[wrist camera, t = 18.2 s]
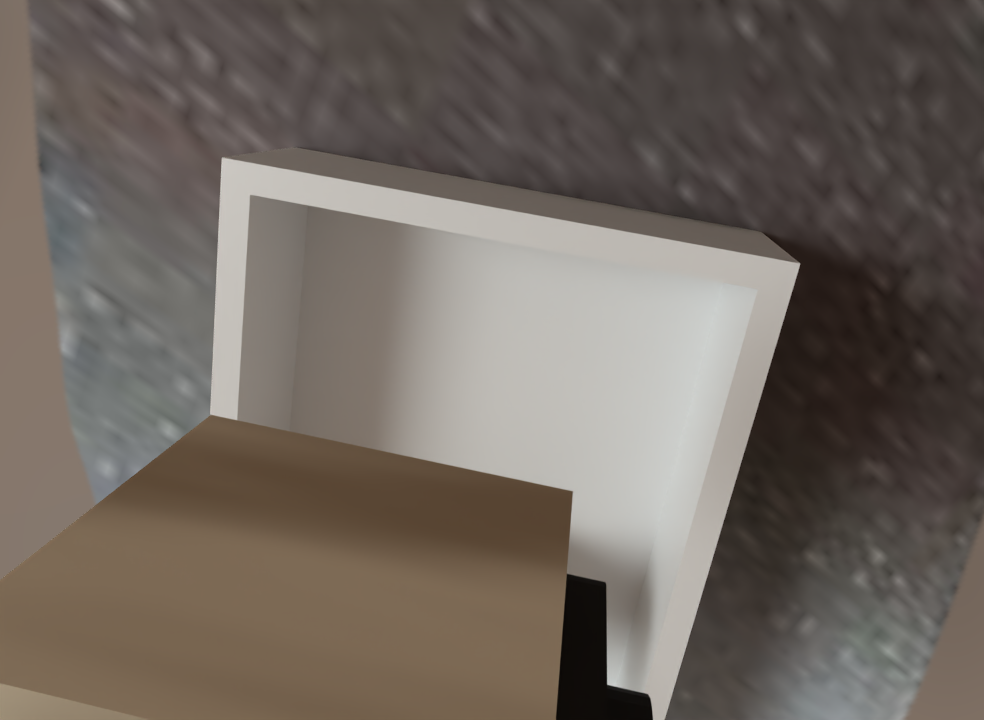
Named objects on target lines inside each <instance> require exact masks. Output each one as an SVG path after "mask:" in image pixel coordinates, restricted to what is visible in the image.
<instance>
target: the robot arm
mask: <svg viewBox="0 0 984 720" xmlns="http://www.w3.org/2000/svg"><path fill="white" fill-rule="evenodd" d="M556 720H653V714H652V705H651V698H650V697H649V695H648V694H646V693H641V692H637V691H632V690H628V689H624V688H619V687H615V686H611V685H607V599H606V582H603V581H599V580H594V579H589V578H585V577H580V576H576V575H571V574H567V577H566V591H565V604H564V617H563V631H562V644H561V657H560V671H559V684H558V697H557V710H556Z"/></svg>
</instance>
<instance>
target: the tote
mask: <svg viewBox="0 0 984 720" xmlns="http://www.w3.org/2000/svg"><path fill="white" fill-rule="evenodd" d="M799 267H800V263H799V262H798V261H797V260H795V259H794V258H793V257H792V256H790V255H789V254H788V253H787V252H785V251H784V250H783V249H782V248H780V247H779V246H778V245H777V244H776V243H774V242H773V241H772V240H771V239H769V238H768V237H767V236H766V235H764V234H763V233H762V232H760V231H755V230H749V229H744V228H738V227H733V226H727V225H722V224H716V223H711V222H705V221H700V220H694V219H689V218H683V217H678V216H672V215H667V214H661V213H656V212H650V211H644V210H639V209H633V208H628V207H622V206H617V205H611V204H606V203H600V202H595V201H589V200H584V199H578V198H573V197H567V196H562V195H556V194H551V193H545V192H540V191H534V190H528V189H523V188H517V187H512V186H506V185H501V184H495V183H490V182H484V181H479V180H473V179H468V178H462V177H457V176H451V175H446V174H440V173H435V172H429V171H424V170H418V169H412V168H407V167H401V166H396V165H390V164H385V163H379V162H374V161H368V160H363V159H357V158H352V157H346V156H341V155H335V154H330V153H324V152H319V151H313V150H308V149H302V148H296V147H293V148H286V149H279V150H272V151H265V152H257V153H250V154H243V155H236V156H229V157H222V167H221V189H220V211H219V233H218V255H217V277H216V299H215V322H214V344H213V366H212V388H211V410H210V415H215V416H219V417H224V418H229V419H234V420H238V421H243V422H248V423H252V424H257V425H262V426H267V427H271V428H276V429H281V430H286V431H290V432H295V433H300V434H304V435H309V436H314V437H319V438H323V439H328V440H333V441H338V442H342V443H347V444H352V445H357V446H361V447H366V448H371V449H375V450H380V451H385V452H390V453H394V454H399V455H404V456H409V457H413V458H418V459H423V460H427V461H432V462H437V463H442V464H446V465H451V466H456V467H461V468H465V469H470V470H475V471H480V472H484V473H489V474H494V475H498V476H503V477H508V478H513V479H517V480H522V481H527V482H532V483H536V484H541V485H546V486H551V487H555V488H560V489H565V490H569V491H573V498H572V511H571V524H570V538H569V551H568V564H567V574H571V575H576V576H580V577H585V578H589V579H594V580H599V581H603V582H606V599H607V685H611V686H615V687H619V688H624V689H628V690H632V691H637V692H641V693H646V694H648V695H649V697H650V698H651V705H652V714H653V720H665V717H666V713H667V710H668V707H669V703H670V700H671V697H672V693H673V690H674V686H675V683H676V680H677V676H678V673H679V670H680V666H681V663H682V660H683V656H684V653H685V650H686V646H687V643H688V639H689V636H690V633H691V629H692V626H693V623H694V619H695V616H696V613H697V609H698V606H699V603H700V599H701V596H702V592H703V589H704V586H705V582H706V579H707V576H708V572H709V569H710V566H711V562H712V559H713V556H714V552H715V549H716V545H717V542H718V539H719V535H720V532H721V529H722V525H723V522H724V519H725V515H726V512H727V509H728V505H729V502H730V498H731V495H732V492H733V488H734V485H735V482H736V478H737V475H738V472H739V468H740V465H741V461H742V458H743V455H744V451H745V448H746V445H747V441H748V438H749V435H750V431H751V428H752V425H753V421H754V418H755V414H756V411H757V408H758V404H759V401H760V398H761V394H762V391H763V388H764V384H765V381H766V378H767V374H768V371H769V367H770V364H771V361H772V357H773V354H774V351H775V347H776V344H777V341H778V337H779V334H780V331H781V327H782V324H783V320H784V317H785V314H786V310H787V307H788V304H789V300H790V297H791V294H792V290H793V287H794V284H795V280H796V277H797V273H798V270H799Z"/></svg>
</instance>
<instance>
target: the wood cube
mask: <svg viewBox="0 0 984 720" xmlns="http://www.w3.org/2000/svg"><path fill="white" fill-rule="evenodd" d="M572 498H573V491H569V490H565V489H560V488H555V487H551V486H546V485H541V484H536V483H532V482H527V481H522V480H517V479H513V478H508V477H503V476H498V475H494V474H489V473H484V472H480V471H475V470H470V469H465V468H461V467H456V466H451V465H446V464H442V463H437V462H432V461H427V460H423V459H418V458H413V457H409V456H404V455H399V454H394V453H390V452H385V451H380V450H375V449H371V448H366V447H361V446H357V445H352V444H347V443H342V442H338V441H333V440H328V439H323V438H319V437H314V436H309V435H304V434H300V433H295V432H290V431H286V430H281V429H276V428H271V427H267V426H262V425H257V424H252V423H248V422H243V421H238V420H234V419H229V418H224V417H219V416H215V415H210V416H209V417H208V418H207V419H205V420H204V421H203V422H201V423H200V424H199V425H198V426H196V427H195V428H194V429H192V430H191V431H190V432H189V433H187V434H186V435H185V436H184V437H182V438H181V439H180V440H178V441H177V442H176V443H175V444H173V445H172V446H171V447H169V448H168V449H167V450H166V451H164V452H163V453H162V454H161V455H159V456H158V457H157V458H155V459H154V460H153V461H152V462H150V463H149V464H148V465H146V466H145V467H144V468H143V469H141V470H140V471H139V472H138V473H136V474H135V475H134V476H132V477H131V478H130V479H129V480H127V481H126V482H125V483H123V484H122V485H121V486H120V487H118V488H117V489H116V490H115V491H113V492H112V493H111V494H109V495H108V496H107V497H106V498H104V499H103V500H102V501H100V502H99V503H98V504H97V505H95V506H94V507H93V508H92V509H90V510H89V511H88V512H87V513H85V514H84V515H83V516H81V517H80V518H79V519H78V520H76V521H75V522H74V523H72V524H71V525H70V526H69V527H67V528H66V529H65V530H63V531H62V532H61V533H60V534H58V535H57V536H56V537H55V538H53V539H52V540H51V541H49V542H48V543H47V544H46V545H44V546H43V547H42V548H41V549H39V550H38V551H37V552H35V553H34V554H33V555H32V556H30V557H29V558H28V559H26V560H25V561H24V562H23V563H21V564H20V565H19V566H18V567H16V568H15V569H14V570H12V571H11V572H10V573H9V574H7V575H6V576H5V577H3V578H2V579H1V580H0V720H556V710H557V697H558V684H559V671H560V657H561V644H562V631H563V617H564V604H565V591H566V577H567V564H568V551H569V538H570V524H571V511H572Z"/></svg>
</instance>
